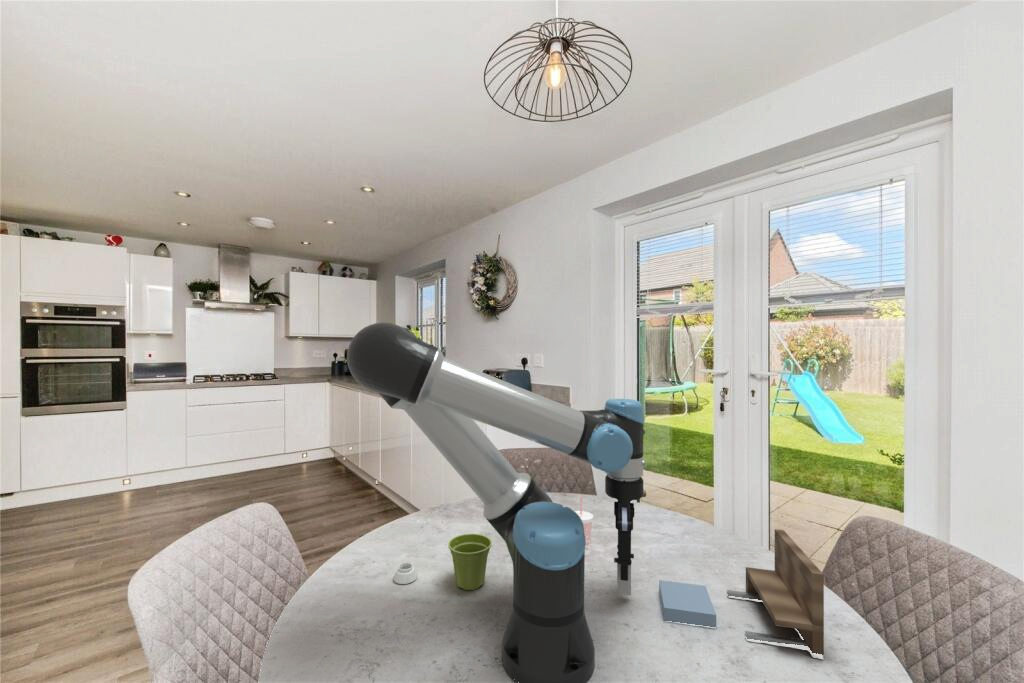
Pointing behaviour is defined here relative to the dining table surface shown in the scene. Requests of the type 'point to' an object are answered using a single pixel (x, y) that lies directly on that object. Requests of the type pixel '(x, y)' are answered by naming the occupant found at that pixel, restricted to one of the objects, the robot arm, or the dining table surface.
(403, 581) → the white jar
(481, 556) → the plant pot
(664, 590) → the light blue block
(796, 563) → the shelf
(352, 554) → the dining table surface
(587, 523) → the beverage cup
